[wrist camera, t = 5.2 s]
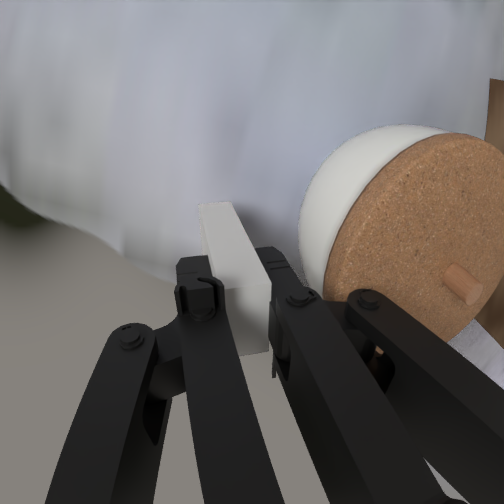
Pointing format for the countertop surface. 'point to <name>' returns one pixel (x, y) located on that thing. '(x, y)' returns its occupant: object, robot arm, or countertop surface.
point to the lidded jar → (408, 223)
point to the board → (500, 135)
